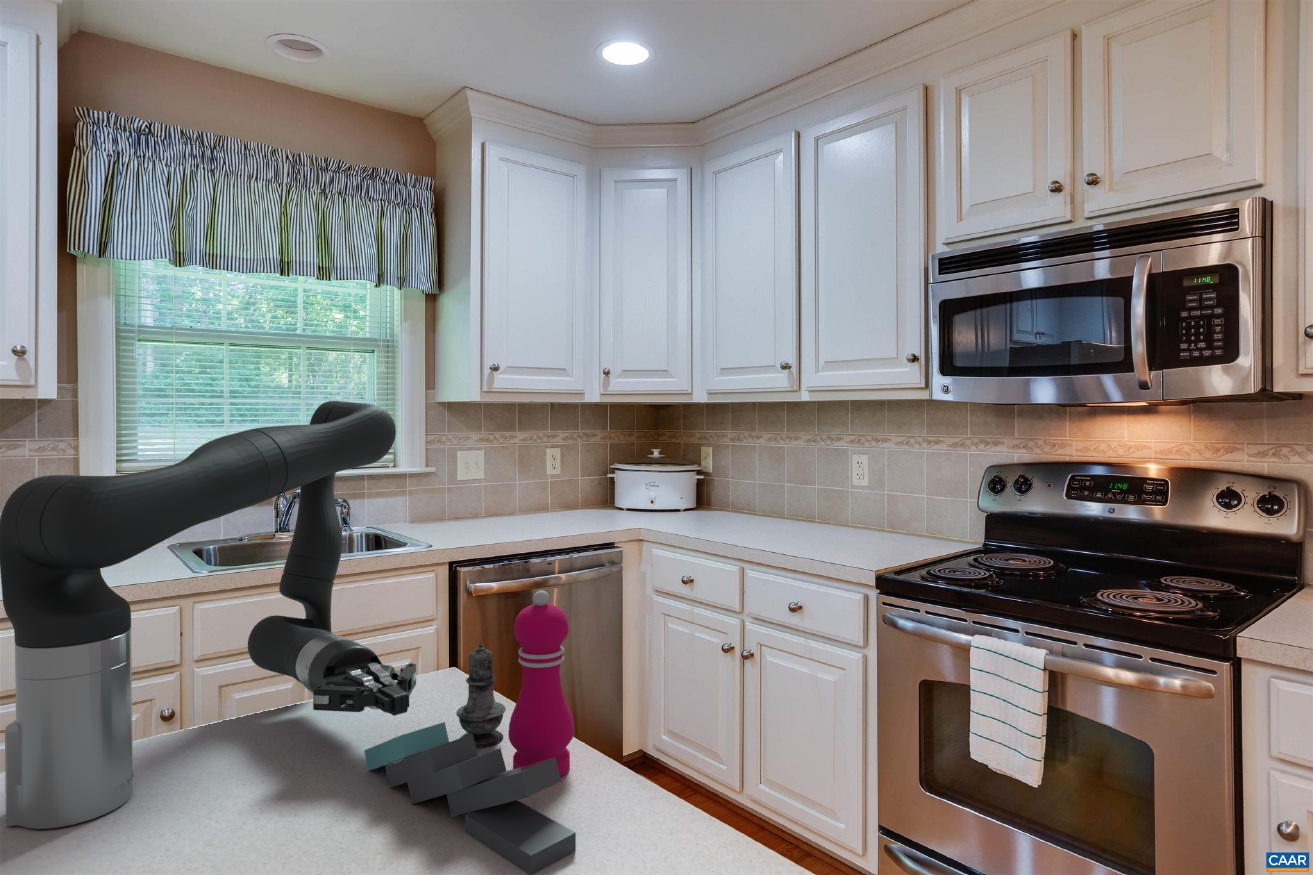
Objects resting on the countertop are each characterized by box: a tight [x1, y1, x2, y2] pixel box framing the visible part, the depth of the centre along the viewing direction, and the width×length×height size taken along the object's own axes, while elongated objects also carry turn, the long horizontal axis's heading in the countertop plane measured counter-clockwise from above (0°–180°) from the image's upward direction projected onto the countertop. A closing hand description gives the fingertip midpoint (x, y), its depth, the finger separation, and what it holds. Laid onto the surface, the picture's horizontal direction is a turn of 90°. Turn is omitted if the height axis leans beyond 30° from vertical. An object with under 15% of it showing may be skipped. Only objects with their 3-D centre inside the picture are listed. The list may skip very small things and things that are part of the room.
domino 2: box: [384, 734, 479, 789], centre depth 78 cm, size 2×5×10 cm
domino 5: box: [464, 800, 577, 875], centre depth 69 cm, size 2×5×10 cm
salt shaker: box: [456, 641, 507, 750], centre depth 91 cm, size 6×6×12 cm
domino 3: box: [406, 747, 507, 805], centre depth 75 cm, size 2×5×10 cm
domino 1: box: [363, 721, 450, 772], centre depth 82 cm, size 2×5×10 cm
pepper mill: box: [508, 590, 575, 778], centre depth 83 cm, size 7×7×20 cm
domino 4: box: [446, 758, 562, 817], centre depth 73 cm, size 2×5×10 cm
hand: (401, 704), depth 83 cm, fingers closed
